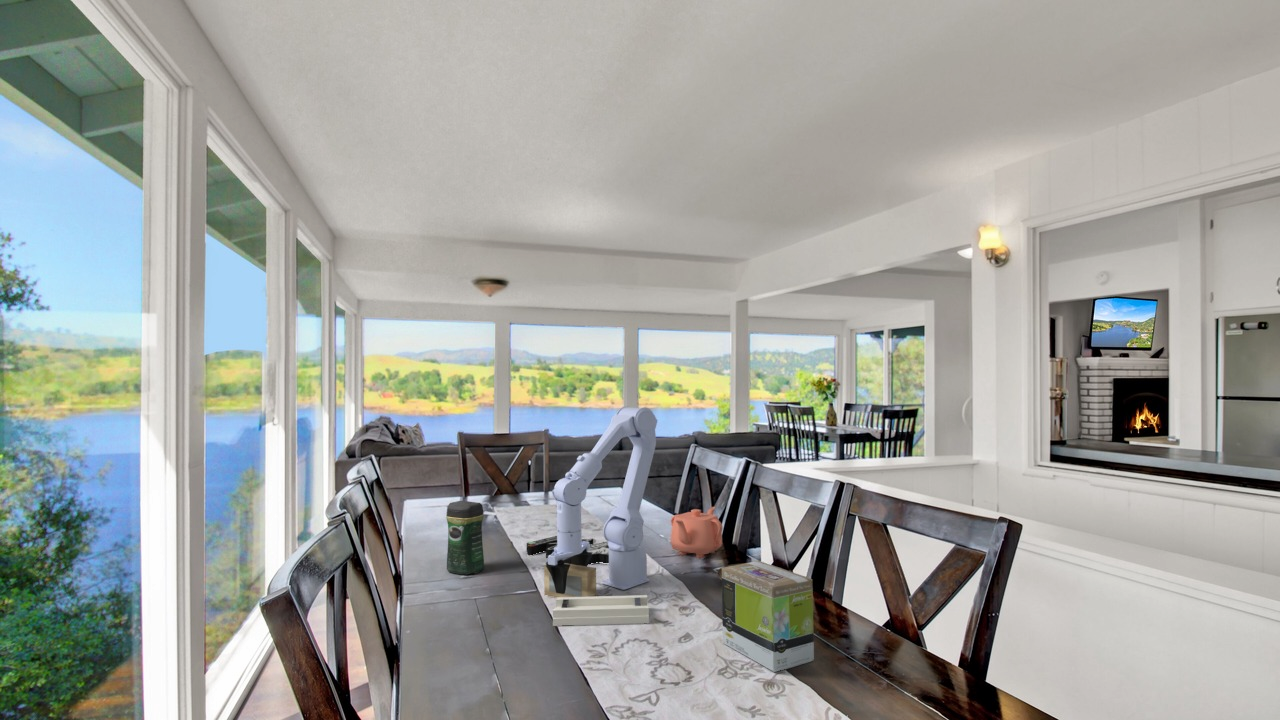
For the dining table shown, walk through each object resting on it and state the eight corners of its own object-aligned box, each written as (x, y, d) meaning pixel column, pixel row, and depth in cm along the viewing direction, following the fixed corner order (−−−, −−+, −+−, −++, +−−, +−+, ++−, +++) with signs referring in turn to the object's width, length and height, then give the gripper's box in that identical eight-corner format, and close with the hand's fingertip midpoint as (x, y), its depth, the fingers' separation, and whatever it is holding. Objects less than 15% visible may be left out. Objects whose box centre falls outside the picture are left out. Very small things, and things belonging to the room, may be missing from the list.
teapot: (715, 545, 195) (714, 503, 195) (729, 560, 178) (728, 514, 179) (667, 547, 193) (666, 505, 193) (676, 562, 176) (675, 516, 177)
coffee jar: (489, 569, 173) (488, 500, 173) (468, 577, 166) (467, 505, 166) (462, 564, 177) (462, 497, 178) (441, 572, 170) (441, 502, 171)
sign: (570, 532, 203) (638, 548, 182) (570, 541, 202) (639, 559, 182) (521, 544, 189) (589, 563, 168) (521, 554, 189) (589, 574, 168)
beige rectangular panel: (554, 590, 155) (554, 561, 155) (596, 598, 149) (596, 567, 149) (544, 596, 151) (543, 566, 151) (586, 603, 145) (586, 572, 146)
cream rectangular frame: (647, 607, 142) (646, 594, 142) (649, 623, 133) (649, 608, 133) (556, 610, 141) (556, 596, 141) (552, 626, 132) (552, 611, 132)
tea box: (816, 661, 114) (814, 578, 115) (773, 674, 109) (771, 587, 110) (761, 632, 127) (759, 558, 128) (720, 643, 122) (719, 566, 123)
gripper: (572, 522, 159) (572, 577, 158) (536, 535, 146) (537, 594, 145) (596, 524, 155) (597, 581, 155) (562, 538, 143) (562, 599, 142)
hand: (569, 588), depth 150 cm, fingers open, 7 cm apart
